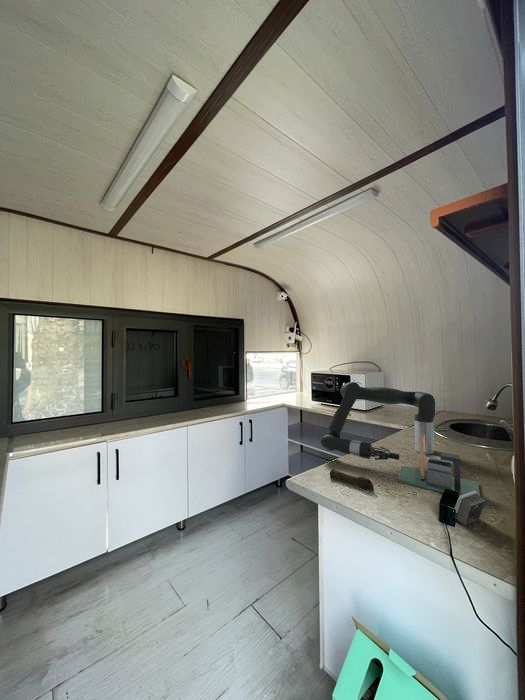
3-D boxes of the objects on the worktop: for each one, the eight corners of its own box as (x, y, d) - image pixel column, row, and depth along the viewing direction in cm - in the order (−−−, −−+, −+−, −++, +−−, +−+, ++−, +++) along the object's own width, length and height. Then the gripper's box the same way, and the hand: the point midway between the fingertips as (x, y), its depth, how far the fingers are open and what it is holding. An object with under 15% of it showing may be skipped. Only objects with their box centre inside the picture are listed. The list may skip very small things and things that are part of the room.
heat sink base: (403, 468, 129) (403, 441, 129) (477, 484, 112) (477, 454, 112) (397, 481, 116) (397, 451, 116) (480, 502, 99) (479, 467, 99)
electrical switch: (468, 512, 93) (470, 487, 92) (485, 522, 88) (487, 496, 87) (450, 519, 89) (452, 493, 88) (467, 530, 84) (470, 502, 84)
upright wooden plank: (421, 473, 120) (420, 433, 120) (453, 480, 113) (452, 437, 113) (420, 478, 115) (419, 436, 115) (452, 485, 108) (451, 441, 108)
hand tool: (329, 479, 119) (328, 469, 119) (333, 476, 122) (333, 466, 122) (370, 495, 106) (370, 483, 106) (374, 491, 108) (374, 479, 109)
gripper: (356, 445, 127) (396, 453, 117) (364, 438, 138) (401, 444, 128) (356, 461, 127) (396, 470, 117) (364, 452, 138) (401, 460, 128)
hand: (399, 457), depth 122 cm, fingers closed
